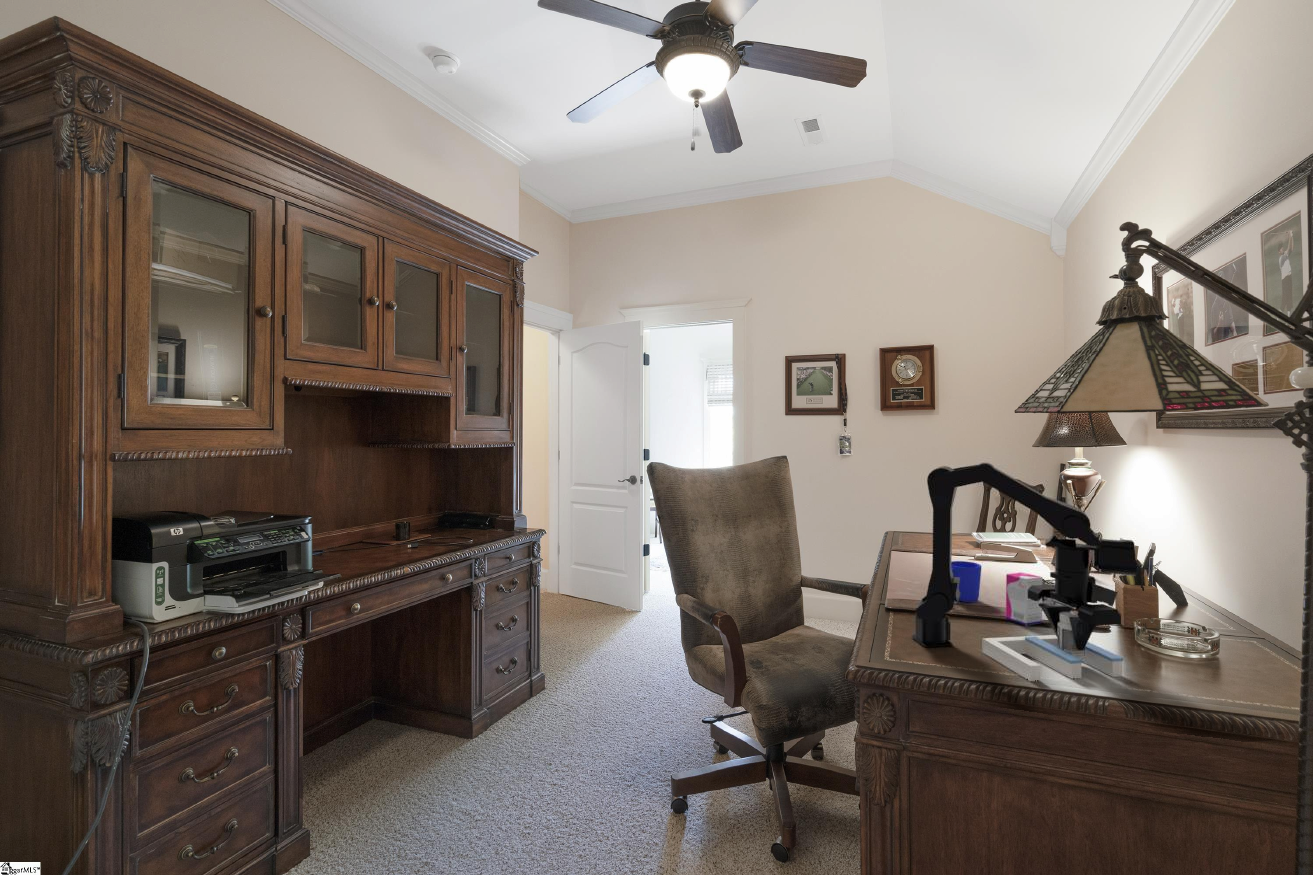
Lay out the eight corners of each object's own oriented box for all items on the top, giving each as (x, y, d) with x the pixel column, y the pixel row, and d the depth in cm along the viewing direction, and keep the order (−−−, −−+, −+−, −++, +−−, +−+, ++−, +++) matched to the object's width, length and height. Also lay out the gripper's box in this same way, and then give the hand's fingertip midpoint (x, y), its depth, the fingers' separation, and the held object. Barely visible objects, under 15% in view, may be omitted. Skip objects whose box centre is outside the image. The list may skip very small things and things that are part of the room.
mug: (930, 598, 173) (930, 563, 173) (965, 594, 177) (965, 559, 176) (952, 607, 165) (952, 570, 165) (988, 602, 169) (988, 566, 169)
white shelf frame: (1030, 681, 119) (1030, 662, 119) (982, 652, 134) (982, 635, 134) (1123, 676, 120) (1123, 657, 120) (1065, 647, 135) (1065, 631, 135)
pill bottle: (1090, 658, 125) (1091, 617, 124) (1071, 660, 124) (1071, 619, 123) (1070, 649, 129) (1071, 610, 129) (1051, 651, 128) (1052, 611, 128)
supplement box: (1043, 622, 152) (1043, 576, 152) (1026, 626, 150) (1026, 579, 149) (1021, 615, 157) (1021, 571, 157) (1004, 618, 155) (1004, 573, 155)
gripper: (1148, 580, 117) (1147, 661, 118) (1073, 558, 136) (1073, 628, 136) (1094, 582, 116) (1093, 664, 117) (1026, 559, 135) (1025, 630, 135)
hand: (1071, 645), depth 126 cm, fingers closed on pill bottle, 5 cm apart
